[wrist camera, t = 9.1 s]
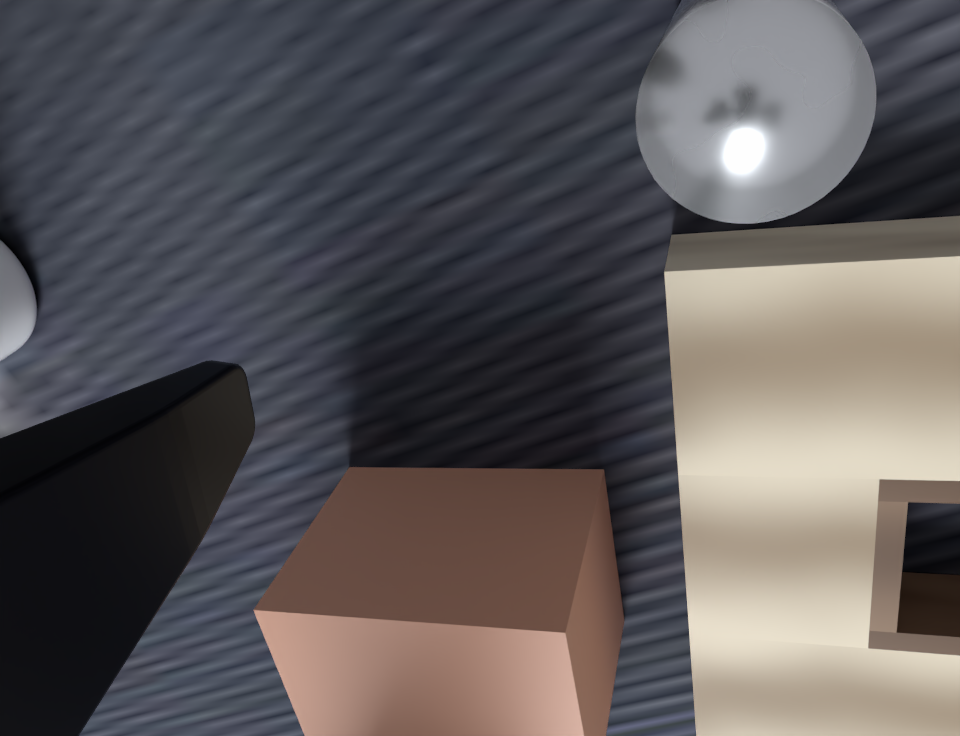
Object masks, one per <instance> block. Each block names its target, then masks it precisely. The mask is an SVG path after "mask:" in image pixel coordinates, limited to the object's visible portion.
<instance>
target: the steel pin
mask: <svg viewBox="0 0 960 736" xmlns="http://www.w3.org/2000/svg"><path fill="white" fill-rule="evenodd" d="M875 108H876V82H875V76H874V70H873V67H872V64H871V61H870V58H869V55H868V53H867V51H866V49H865V47H864V45H863V43H862V41H861V39H860V38H859V37H858V35H857V34H856V32H855V31H854V30H853V28H852V27H851V26H850V24H849V23H848V22H847V20H846V19H845V18H844V16H843V15H842V14H841V12H840V11H839V10H838V8H837V7H836V6H835V4H834V3H833V2H832V0H681V2H680V4H679V6H678V8H677V10H676V12H675V14H674V16H673V17H672V19H671V21H670V23H669V25H668V27H667V29H666V31H665V33H664V35H663V37H662V39H661V41H660V43H659V45H658V47H657V49H656V51H655V53H654V55H653V57H652V59H651V61H650V63H649V65H648V67H647V69H646V72H645V74H644V77H643V79H642V82H641V86H640V90H639V94H638V98H637V106H636V131H637V138H638V143H639V146H640V150H641V153H642V156H643V158H644V161H645V163H646V165H647V168H648V169H649V171H650V172H651V174H652V176H653V177H654V179H655V180H656V182H657V183H658V184H659V185H660V186H661V188H662V189H663V190H664V191H665V192H666V193H667V194H668V195H669V196H670V197H671V198H672V199H674V200H675V201H676V202H678V203H679V204H681V205H682V206H683V207H685V208H687V209H689V210H691V211H692V212H694V213H696V214H699V215H701V216H704V217H707V218H709V219H713V220H717V221H722V222H728V223H737V224H753V223H761V222H768V221H772V220H776V219H780V218H784V217H786V216H789V215H792V214H794V213H797V212H799V211H801V210H803V209H805V208H807V207H809V206H811V205H812V204H814V203H815V202H817V201H818V200H820V199H821V198H823V197H824V196H825V195H826V194H828V193H829V192H830V191H831V190H832V189H834V188H835V187H836V186H837V185H838V184H839V183H840V182H841V181H842V179H843V178H844V177H845V176H846V175H847V174H848V173H849V171H850V170H851V168H852V167H853V166H854V164H855V163H856V162H857V160H858V158H859V156H860V155H861V153H862V151H863V149H864V147H865V145H866V142H867V140H868V137H869V135H870V132H871V128H872V125H873V121H874V117H875Z"/></svg>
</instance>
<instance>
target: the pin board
mask: <svg viewBox="0 0 960 736" xmlns="http://www.w3.org/2000/svg"><path fill="white" fill-rule="evenodd" d="M664 274H665V289H666V303H667V318H668V332H669V347H670V361H671V376H672V390H673V405H674V419H675V434H676V448H677V462H678V477H679V491H680V506H681V520H682V535H683V549H684V564H685V578H686V593H687V607H688V622H689V636H690V651H691V665H692V679H693V694H694V708H695V723H696V736H960V575H946V574H927V573H908V572H902V565H903V554H904V543H905V531H906V520H907V509H908V502H920V503H955V504H960V216H950V217H934V218H919V219H904V220H889V221H874V222H859V223H843V224H828V225H813V226H798V227H783V228H768V229H752V230H737V231H722V232H707V233H692V234H677V235H671V240H670V245H669V250H668V256H667V261H666V266H665V271H664Z"/></svg>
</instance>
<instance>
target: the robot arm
mask: <svg viewBox="0 0 960 736" xmlns="http://www.w3.org/2000/svg"><path fill="white" fill-rule="evenodd" d="M254 431H255V417H254V412H253V407H252V402H251V397H250V392H249V387H248V382H247V377H246V374H245V372H244V370H243V368H242V367H241V366H239V365H238V364H233V363H226V362H220V361H212V360H211V361H205V362H202V363H199V364H197V365H194V366H191V367H189V368H186V369H183V370H181V371H178V372H176V373H173V374H170V375H168V376H165V377H162V378H160V379H157V380H154V381H152V382H149V383H146V384H144V385H141V386H138V387H136V388H133V389H130V390H128V391H125V392H122V393H120V394H117V395H114V396H112V397H109V398H106V399H104V400H101V401H98V402H96V403H93V404H91V405H88V406H85V407H83V408H80V409H77V410H75V411H72V412H69V413H67V414H64V415H61V416H59V417H56V418H53V419H51V420H48V421H45V422H43V423H40V424H37V425H35V426H32V427H29V428H27V429H24V430H21V431H19V432H16V433H13V434H11V435H8V436H6V437H3V438H0V736H79V734H80V733H81V731H82V730H83V728H84V727H85V725H86V723H87V722H88V720H89V719H90V717H91V716H92V714H93V712H94V711H95V709H96V708H97V706H98V705H99V703H100V701H101V700H102V698H103V697H104V695H105V694H106V692H107V690H108V689H109V687H110V686H111V684H112V683H113V681H114V679H115V678H116V676H117V675H118V673H119V671H120V670H121V668H122V667H123V665H124V664H125V662H126V660H127V659H128V657H129V656H130V654H131V653H132V651H133V649H134V648H135V646H136V645H137V643H138V642H139V640H140V638H141V637H142V635H143V634H144V632H145V631H146V629H147V627H148V626H149V624H150V623H151V621H152V620H153V618H154V616H155V615H156V613H157V612H158V610H159V609H160V607H161V605H162V604H163V602H164V601H165V599H166V597H167V596H168V594H169V593H170V591H171V590H172V588H173V586H174V585H175V583H176V582H177V580H178V579H179V577H180V575H181V574H182V572H183V571H184V569H185V568H186V566H187V564H188V563H189V561H190V560H191V558H192V556H193V555H194V553H195V551H196V550H197V548H198V546H199V545H200V543H201V541H202V540H203V538H204V536H205V534H206V532H207V530H208V528H209V527H210V525H211V523H212V521H213V519H214V517H215V515H216V513H217V511H218V509H219V506H220V504H221V502H222V500H223V498H224V496H225V494H226V492H227V490H228V488H229V486H230V484H231V482H232V480H233V478H234V476H235V474H236V472H237V470H238V468H239V466H240V464H241V462H242V460H243V458H244V456H245V454H246V452H247V450H248V448H249V446H250V443H251V441H252V439H253V435H254Z"/></svg>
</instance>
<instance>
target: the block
mask: <svg viewBox="0 0 960 736" xmlns="http://www.w3.org/2000/svg"><path fill="white" fill-rule="evenodd" d="M254 613H255V615H256V617H257V620H258V622H259V625H260V627H261V630H262V632H263V635H264V637H265V639H266V642H267V644H268V647H269V649H270V652H271V654H272V657H273V659H274V662H275V664H276V666H277V669H278V671H279V674H280V676H281V679H282V681H283V684H284V686H285V688H286V691H287V693H288V696H289V698H290V701H291V703H292V706H293V708H294V710H295V713H296V715H297V718H298V720H299V723H300V725H301V728H302V730H303V733H304V735H305V736H606V731H607V725H608V719H609V713H610V706H611V700H612V694H613V688H614V681H615V675H616V669H617V663H618V656H619V650H620V644H621V638H622V631H623V625H624V613H623V606H622V599H621V591H620V584H619V576H618V569H617V562H616V554H615V547H614V540H613V532H612V525H611V518H610V510H609V503H608V495H607V488H606V481H605V473H604V469H499V468H384V467H349V468H348V470H347V471H346V473H345V474H344V476H343V477H342V479H341V480H340V482H339V483H338V485H337V486H336V488H335V489H334V491H333V492H332V494H331V495H330V497H329V498H328V500H327V501H326V503H325V504H324V506H323V507H322V509H321V510H320V512H319V513H318V515H317V516H316V518H315V519H314V521H313V522H312V524H311V525H310V527H309V528H308V530H307V531H306V533H305V534H304V536H303V537H302V539H301V540H300V542H299V543H298V545H297V546H296V547H295V549H294V550H293V552H292V553H291V555H290V556H289V558H288V559H287V561H286V562H285V564H284V565H283V567H282V568H281V570H280V571H279V573H278V574H277V576H276V577H275V579H274V580H273V582H272V583H271V585H270V586H269V588H268V589H267V591H266V592H265V594H264V595H263V597H262V598H261V600H260V601H259V603H258V604H257V606H256V607H255V609H254Z"/></svg>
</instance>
